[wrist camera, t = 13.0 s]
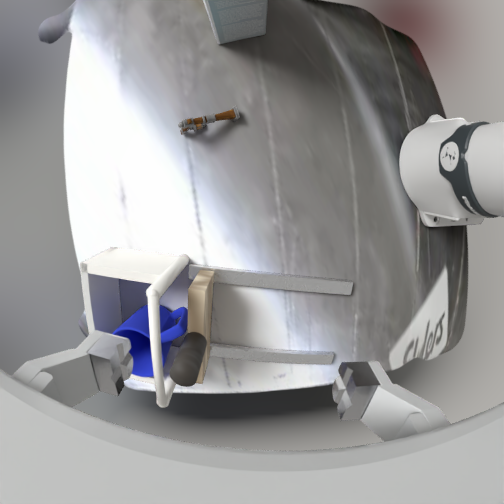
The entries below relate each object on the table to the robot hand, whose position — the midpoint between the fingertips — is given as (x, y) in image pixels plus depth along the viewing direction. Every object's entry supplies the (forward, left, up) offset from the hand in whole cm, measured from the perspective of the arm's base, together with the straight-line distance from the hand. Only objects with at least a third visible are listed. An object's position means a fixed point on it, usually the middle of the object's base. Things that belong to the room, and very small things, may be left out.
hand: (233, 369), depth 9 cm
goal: (+15, +13, -29) cm, 35 cm away
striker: (+5, +13, -28) cm, 31 cm away
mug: (+12, +15, -29) cm, 35 cm away
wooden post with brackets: (+7, -15, -30) cm, 34 cm away
